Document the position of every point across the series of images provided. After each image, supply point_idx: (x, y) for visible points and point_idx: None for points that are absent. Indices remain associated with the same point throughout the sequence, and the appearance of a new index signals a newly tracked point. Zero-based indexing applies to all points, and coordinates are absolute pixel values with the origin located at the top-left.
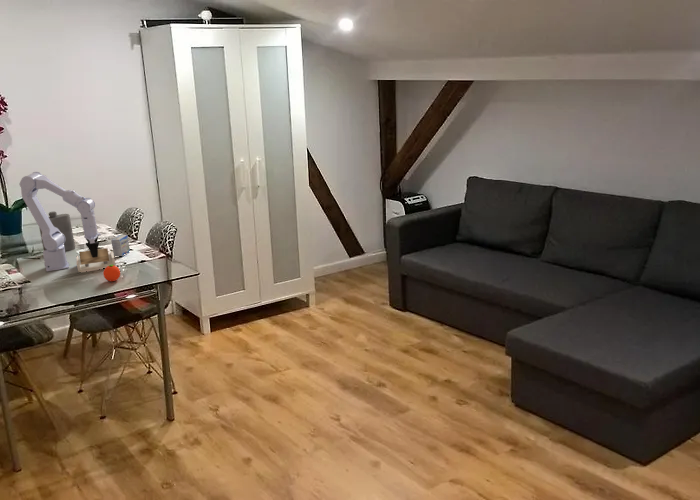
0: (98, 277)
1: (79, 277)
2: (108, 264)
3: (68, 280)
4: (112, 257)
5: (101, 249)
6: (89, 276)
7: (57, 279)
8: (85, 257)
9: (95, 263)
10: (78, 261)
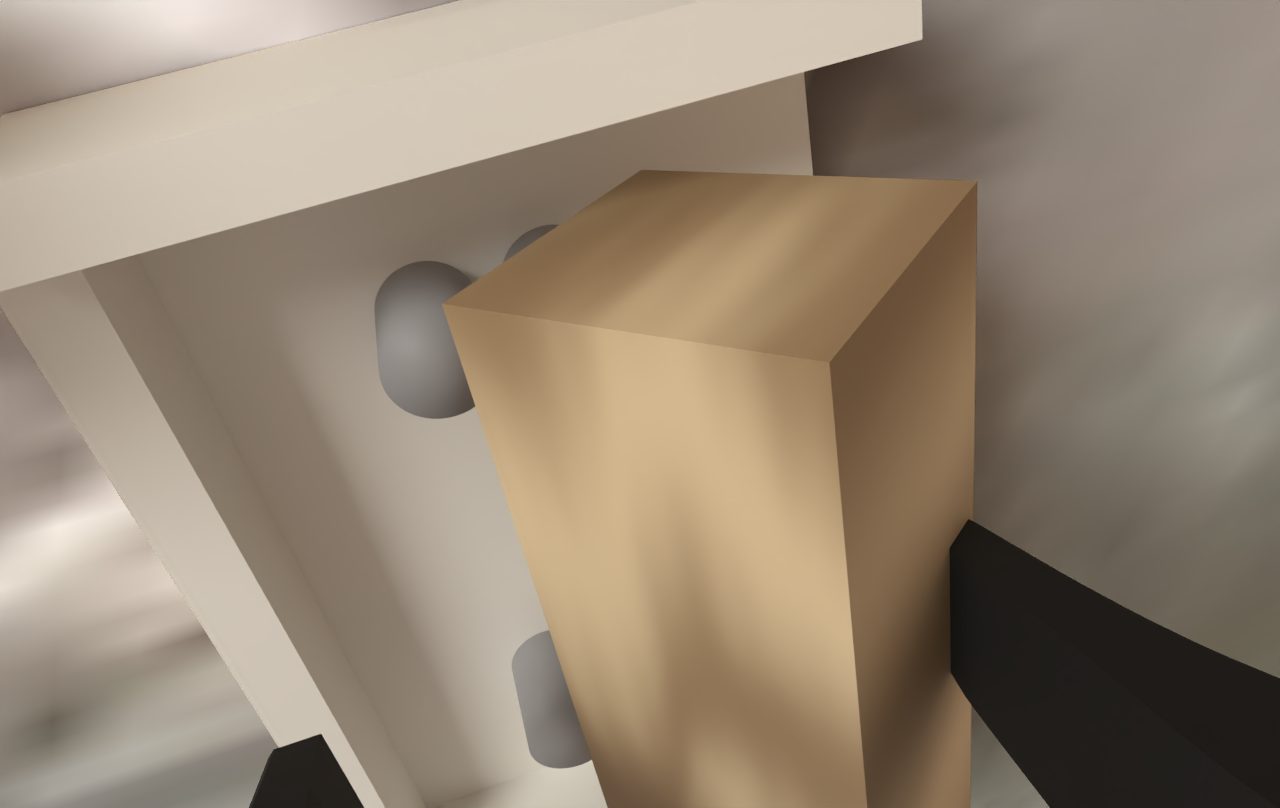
0: (1267, 220)
1: (1073, 554)
2: (672, 167)
3: None
4: (863, 27)
5: (863, 571)
6: (1115, 409)
7: (994, 799)
8: (958, 777)
9: (493, 525)
10: None
